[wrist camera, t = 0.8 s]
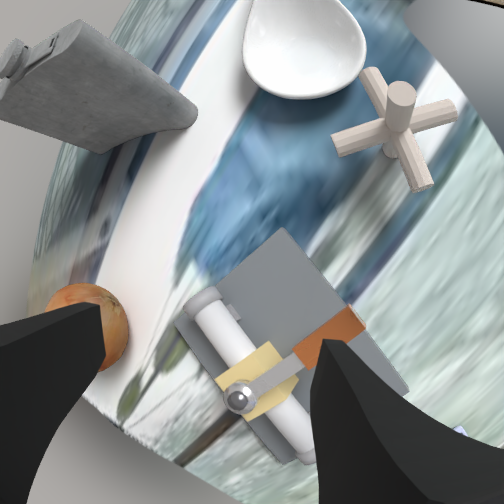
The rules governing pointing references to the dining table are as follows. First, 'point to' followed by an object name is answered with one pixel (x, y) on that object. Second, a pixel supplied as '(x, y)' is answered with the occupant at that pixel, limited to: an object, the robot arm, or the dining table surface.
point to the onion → (110, 315)
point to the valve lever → (293, 361)
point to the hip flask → (87, 91)
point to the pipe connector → (396, 126)
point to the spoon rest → (302, 47)
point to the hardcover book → (491, 2)
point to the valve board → (272, 338)
